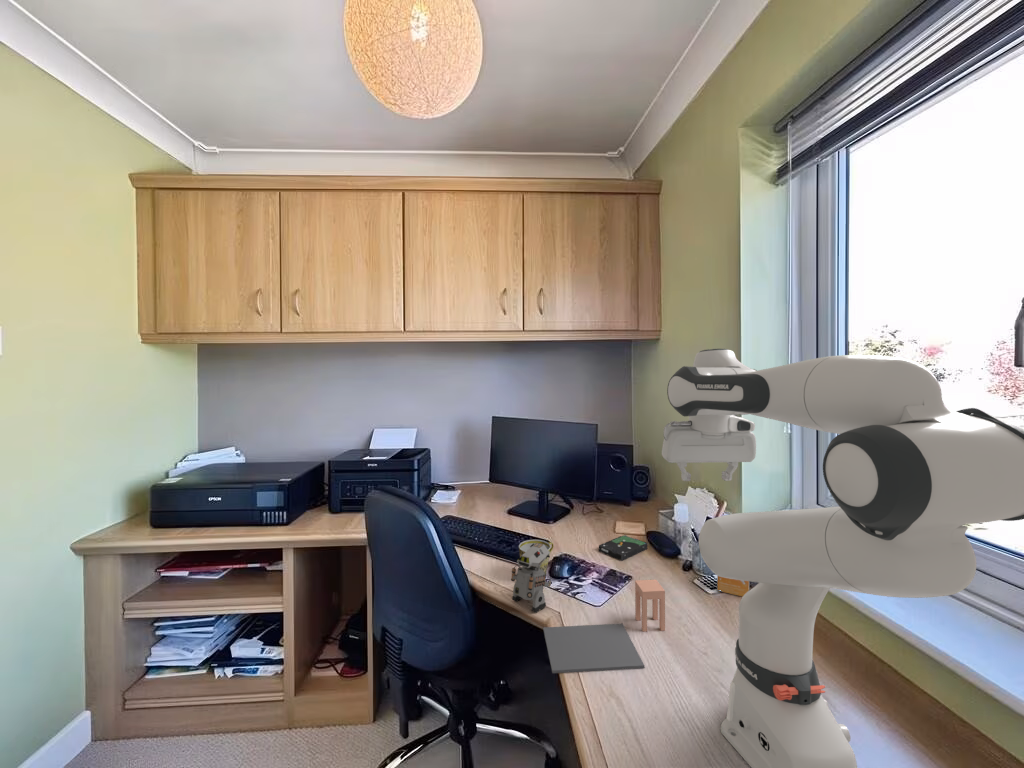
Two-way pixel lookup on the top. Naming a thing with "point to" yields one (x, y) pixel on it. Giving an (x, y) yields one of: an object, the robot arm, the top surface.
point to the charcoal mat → (590, 648)
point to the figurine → (531, 576)
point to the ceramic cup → (526, 546)
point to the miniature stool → (654, 592)
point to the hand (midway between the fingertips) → (706, 480)
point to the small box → (732, 586)
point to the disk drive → (623, 547)
